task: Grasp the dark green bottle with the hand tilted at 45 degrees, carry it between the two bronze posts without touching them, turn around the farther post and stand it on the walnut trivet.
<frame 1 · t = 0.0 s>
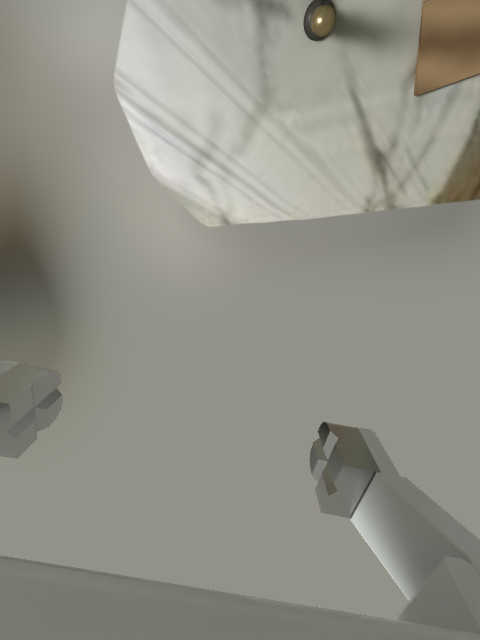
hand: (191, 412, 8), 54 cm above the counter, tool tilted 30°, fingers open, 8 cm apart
post 1: (318, 19, 37), on the counter
trivet: (459, 35, 37), on the counter
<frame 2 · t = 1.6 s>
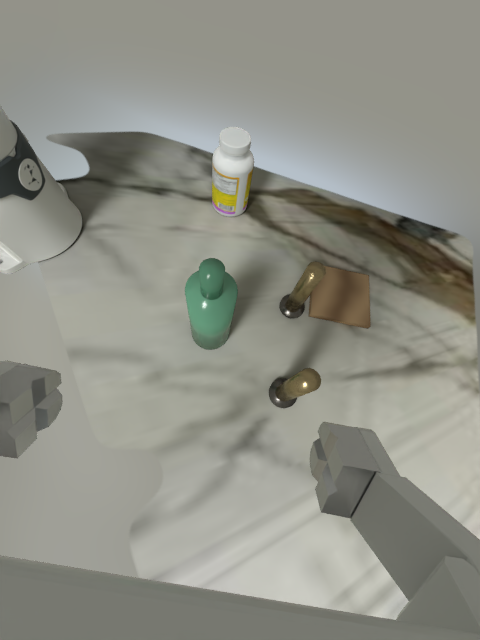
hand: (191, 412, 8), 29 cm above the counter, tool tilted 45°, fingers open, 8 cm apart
bottle: (210, 331, 40), on the counter
post 2: (291, 307, 43), on the counter
supplement bottle: (229, 205, 51), on the counter
post 1: (282, 393, 38), on the counter
trivet: (338, 296, 45), on the counter
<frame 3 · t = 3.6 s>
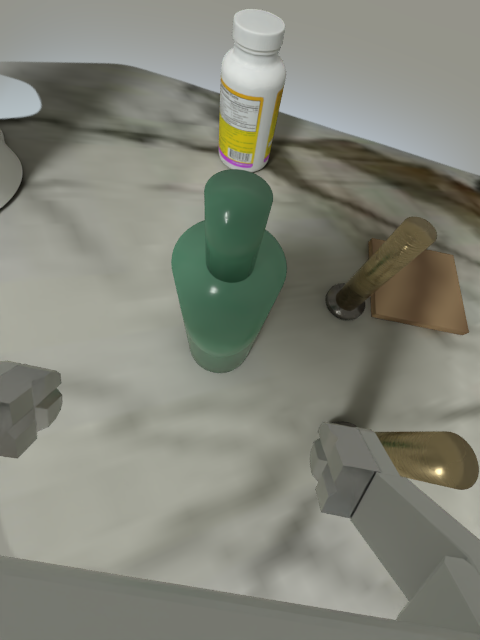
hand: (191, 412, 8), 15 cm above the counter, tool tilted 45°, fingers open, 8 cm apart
bottle: (219, 343, 25), on the counter
post 2: (343, 302, 28), on the counter
supplement bottle: (242, 159, 35), on the counter
post 1: (343, 447, 22), on the counter
trivet: (412, 285, 30), on the counter
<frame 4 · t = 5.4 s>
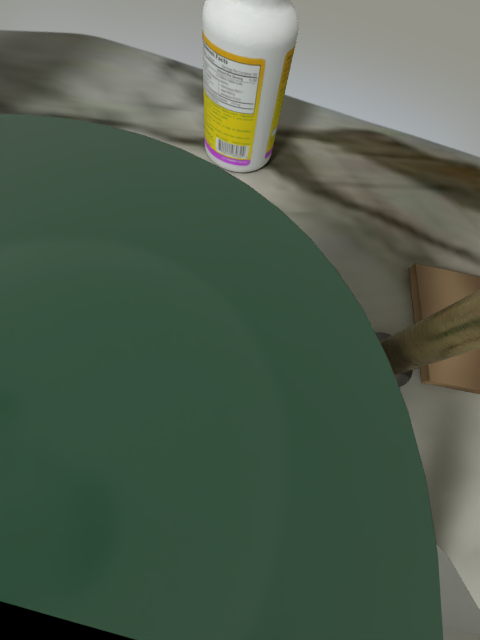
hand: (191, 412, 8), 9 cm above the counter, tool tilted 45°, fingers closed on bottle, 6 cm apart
bottle: (197, 433, 16), on the counter, touching gripper
post 2: (380, 361, 19), on the counter
supplement bottle: (237, 154, 27), on the counter
trivet: (474, 332, 21), on the counter
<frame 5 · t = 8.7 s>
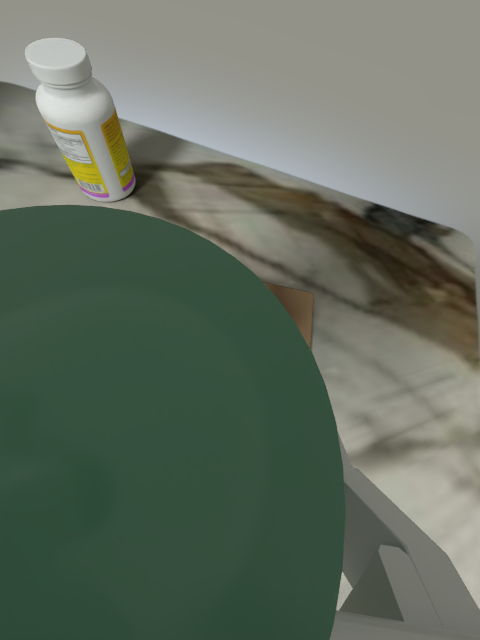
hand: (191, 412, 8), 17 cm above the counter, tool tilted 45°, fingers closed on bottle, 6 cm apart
bottle: (197, 434, 16), point 8 cm above the counter, touching gripper
supplement bottle: (109, 186, 34), on the counter
trivet: (263, 327, 28), on the counter
when the fingers open (11 cm above the counter, at t = 12.1 s): bottle stays where it is, resting on trivet.
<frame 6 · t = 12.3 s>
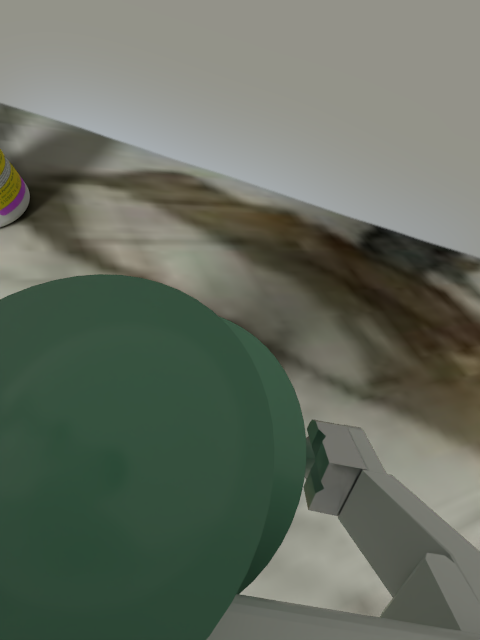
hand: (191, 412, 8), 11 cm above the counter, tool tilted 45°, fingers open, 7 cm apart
bottle: (196, 433, 17), point 1 cm above the counter, touching trivet
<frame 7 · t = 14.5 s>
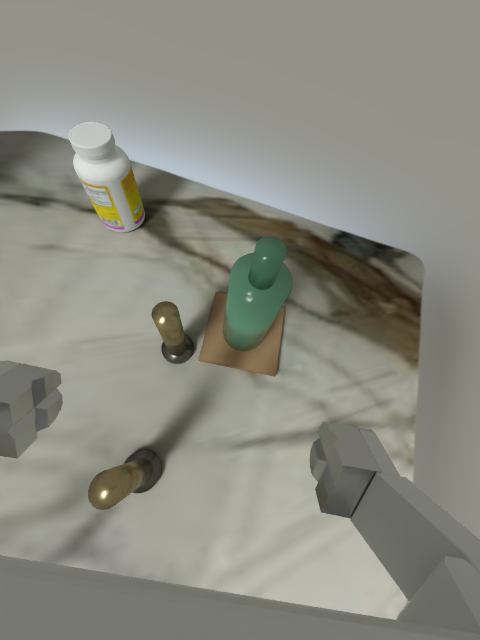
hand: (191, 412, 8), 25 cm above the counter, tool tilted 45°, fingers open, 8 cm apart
bottle: (243, 331, 35), point 1 cm above the counter, touching trivet
post 2: (178, 348, 34), on the counter
supplement bottle: (124, 218, 42), on the counter
post 1: (142, 470, 29), on the counter
trivet: (243, 333, 36), on the counter
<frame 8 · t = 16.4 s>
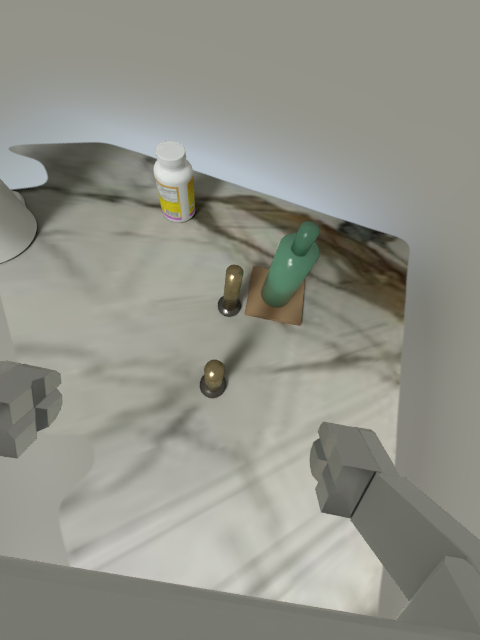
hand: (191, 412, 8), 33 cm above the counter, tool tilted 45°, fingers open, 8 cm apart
bottle: (275, 293, 48), point 1 cm above the counter, touching trivet
post 2: (229, 306, 47), on the counter
supplement bottle: (178, 212, 54), on the counter
post 1: (212, 385, 41), on the counter
trivet: (275, 295, 49), on the counter
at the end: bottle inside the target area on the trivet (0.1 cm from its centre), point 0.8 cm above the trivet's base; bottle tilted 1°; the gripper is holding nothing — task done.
